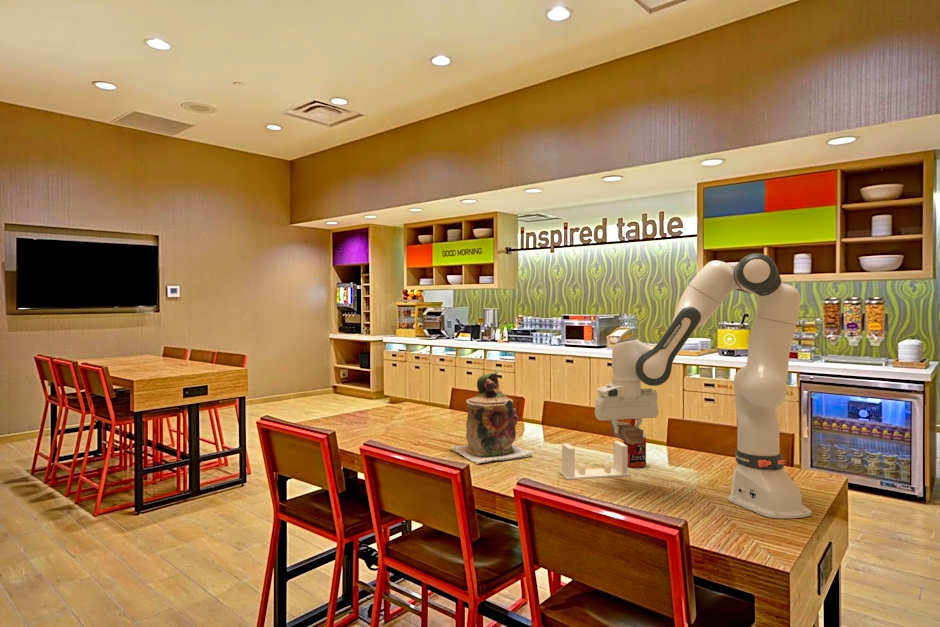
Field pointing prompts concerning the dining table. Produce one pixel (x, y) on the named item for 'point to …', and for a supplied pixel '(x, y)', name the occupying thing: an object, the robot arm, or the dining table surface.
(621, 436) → the brown rectangular bar
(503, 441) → the cookie jar
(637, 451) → the canned food
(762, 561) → the dining table surface
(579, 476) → the peg frame
